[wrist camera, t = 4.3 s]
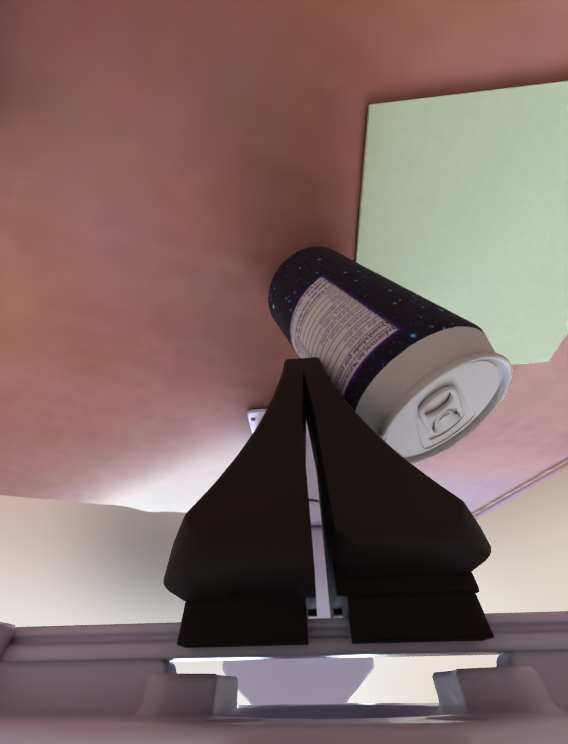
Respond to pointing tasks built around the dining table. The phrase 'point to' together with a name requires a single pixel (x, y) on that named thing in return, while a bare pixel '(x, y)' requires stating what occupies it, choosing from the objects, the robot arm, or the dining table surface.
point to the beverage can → (389, 351)
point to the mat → (474, 209)
